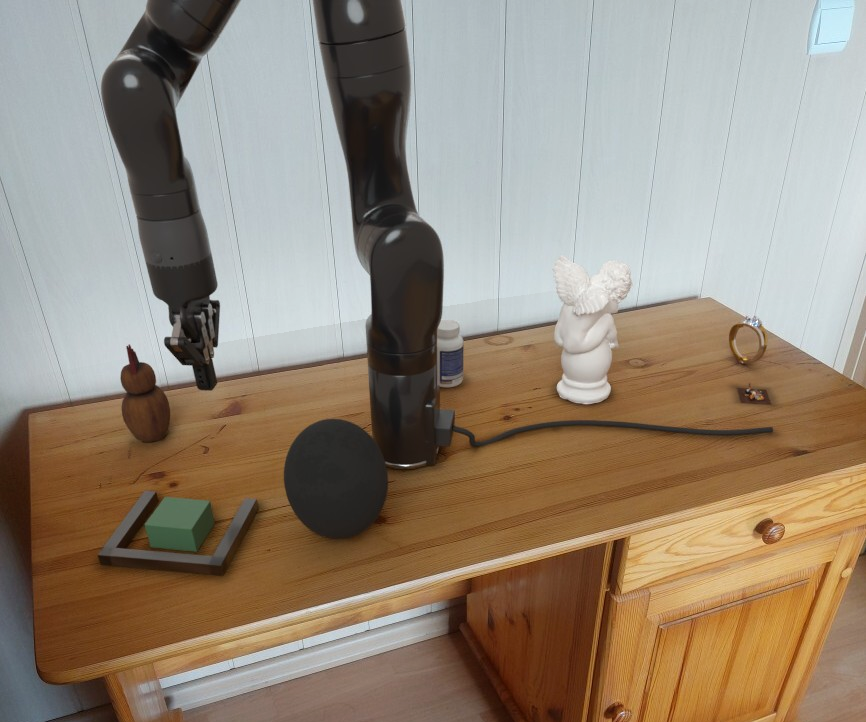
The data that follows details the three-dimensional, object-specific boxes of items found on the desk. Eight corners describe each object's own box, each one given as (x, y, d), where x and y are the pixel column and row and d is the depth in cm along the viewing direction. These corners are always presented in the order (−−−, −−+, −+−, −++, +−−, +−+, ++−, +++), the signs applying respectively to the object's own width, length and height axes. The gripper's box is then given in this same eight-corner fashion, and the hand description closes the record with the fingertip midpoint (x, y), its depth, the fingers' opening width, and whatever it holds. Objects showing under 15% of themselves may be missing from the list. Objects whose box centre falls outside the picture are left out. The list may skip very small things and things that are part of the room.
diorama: (744, 400, 128) (748, 388, 127) (741, 389, 131) (744, 377, 130) (764, 401, 128) (767, 389, 126) (760, 390, 131) (764, 378, 129)
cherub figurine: (612, 378, 134) (631, 243, 121) (628, 416, 124) (651, 273, 111) (538, 380, 134) (549, 244, 120) (549, 417, 124) (562, 274, 111)
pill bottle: (469, 378, 135) (470, 322, 129) (452, 391, 131) (452, 334, 125) (441, 370, 137) (441, 315, 131) (424, 383, 133) (423, 326, 127)
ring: (764, 369, 137) (776, 323, 132) (749, 372, 136) (761, 327, 131) (735, 353, 142) (745, 308, 137) (720, 356, 140) (730, 311, 136)
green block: (215, 523, 104) (210, 500, 101) (196, 552, 99) (191, 529, 97) (170, 518, 104) (165, 496, 102) (150, 547, 100) (144, 524, 98)
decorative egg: (340, 574, 95) (329, 466, 86) (271, 533, 102) (254, 428, 93) (410, 526, 103) (407, 421, 94) (342, 490, 109) (332, 389, 100)
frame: (258, 508, 106) (256, 498, 105) (223, 576, 95) (220, 565, 94) (147, 500, 108) (144, 490, 107) (100, 565, 97) (97, 554, 96)
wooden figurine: (160, 449, 118) (136, 352, 108) (123, 445, 119) (96, 349, 109) (180, 426, 123) (159, 332, 114) (145, 422, 124) (121, 328, 115)
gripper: (187, 273, 88) (218, 414, 99) (227, 233, 99) (251, 365, 110) (122, 272, 89) (160, 411, 100) (168, 233, 100) (198, 363, 110)
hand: (207, 387), depth 105 cm, fingers closed
